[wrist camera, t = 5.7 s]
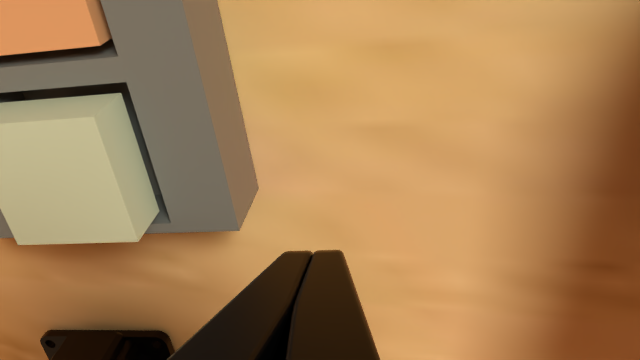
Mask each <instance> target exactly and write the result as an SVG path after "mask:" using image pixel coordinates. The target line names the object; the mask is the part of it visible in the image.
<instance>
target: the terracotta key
mask: <svg viewBox="0 0 640 360" xmlns="http://www.w3.org/2000/svg"><path fill="white" fill-rule="evenodd" d="M111 38H112V35H111V32H110V29H109V26H108V23H107V20H106V16H105V13H104V10H103V7H102V4H101V1H100V0H0V56H2V55H12V54H22V53H32V52H42V51H52V50H62V49H72V48H82V47H92V46H101V45H102V44H104V43H105V42H107V41H108V40H109V39H111Z"/></svg>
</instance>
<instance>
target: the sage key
mask: <svg viewBox="0 0 640 360" xmlns="http://www.w3.org/2000/svg"><path fill="white" fill-rule="evenodd" d="M0 209H1V211H2V213H3V215H4V217H5V219H6V221H7V223H8V226H9V228H10V230H11V232H12V234H13V236H14V238H15V240H16V242H17V244H18V245H42V244H78V243H114V242H139V240H140V239H141V237H142V236H143V234H144V233H145V231H146V230H147V228H148V227H149V226H150V224H151V223H152V221H153V220H154V218H155V217H156V215H157V214H158V212H159V208H158V205H157V202H156V199H155V196H154V193H153V189H152V186H151V183H150V180H149V177H148V174H147V171H146V168H145V165H144V162H143V159H142V156H141V153H140V149H139V146H138V143H137V140H136V137H135V134H134V131H133V128H132V125H131V122H130V119H129V116H128V113H127V109H126V106H125V103H124V100H123V97H122V94H121V93H113V94H101V95H89V96H77V97H64V98H52V99H40V100H28V101H16V102H3V103H0Z"/></svg>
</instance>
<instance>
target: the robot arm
mask: <svg viewBox="0 0 640 360" xmlns="http://www.w3.org/2000/svg"><path fill="white" fill-rule="evenodd" d="M40 342H41V345H42V347H43V349H44V351H45V353H46V354H47V356H48V358H49V360H380V358H379V355H378V352H377V349H376V346H375V343H374V340H373V337H372V335H371V332H370V329H369V326H368V323H367V320H366V317H365V314H364V312H363V309H362V306H361V303H360V300H359V297H358V294H357V291H356V288H355V286H354V283H353V280H352V277H351V274H350V271H349V268H348V265H347V263H346V260H345V257H344V254H343V252H342V251H340V250H319V251H316V252H314V254H313V253H312V252H311V251H287V252H285V253H283V254H282V255H281V256H280V257H278V258H277V259H276V260H275V261H274V262H273V263H272V264H271V265H270V266H269V267H268V268H266V269H265V270H264V271H263V272H262V273H261V274H260V275H259V276H258V277H257V278H256V279H254V280H253V281H252V282H251V283H250V284H249V285H248V286H247V287H246V288H245V289H243V290H242V291H241V292H240V293H239V294H238V295H237V296H236V297H235V298H234V299H233V300H231V301H230V302H229V303H228V304H227V305H226V306H225V307H224V308H223V309H222V310H221V311H219V312H218V313H217V314H216V315H215V316H214V317H213V318H212V319H211V320H210V321H209V322H207V323H206V324H205V325H204V326H203V327H202V328H201V329H200V330H199V331H198V332H197V333H195V334H194V335H193V336H192V337H191V338H190V339H189V340H188V341H187V342H186V343H185V344H183V345H182V346H181V347H180V348H179V349H178V350H177V351H176V352H175V351H174V348H173V345H172V343H171V340H170V338H169V336H168V335H167V334H166V333H164V332H162V331H135V330H49V331H47V332H45V334H44V335H43V336H42V338H41V340H40Z"/></svg>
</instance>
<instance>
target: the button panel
mask: <svg viewBox="0 0 640 360" xmlns="http://www.w3.org/2000/svg"><path fill="white" fill-rule="evenodd" d="M100 1H101V4H102V7H103V10H104V13H105V16H106V20H107V23H108V26H109V29H110V32H111V35H112V38H111V39H109V40H108V41H107V42H105V43H104V44H102V45H101V46H92V47H82V48H72V49H62V50H52V51H42V52H32V53H22V54H12V55H2V56H0V103H3V102H16V101H28V100H40V99H52V98H64V97H77V96H89V95H101V94H113V93H121V94H122V97H123V100H124V103H125V106H126V109H127V113H128V116H129V119H130V122H131V125H132V128H133V131H134V134H135V137H136V140H137V143H138V146H139V149H140V153H141V156H142V159H143V162H144V165H145V168H146V171H147V174H148V177H149V180H150V183H151V186H152V189H153V193H154V196H155V199H156V202H157V205H158V208H159V212H158V214H157V215H156V217H155V218H154V220H153V221H152V223H151V224H150V226H149V227H148V228H147V230H146V231H145V233H144V234H151V233H183V232H216V231H240V228H241V226H242V224H243V222H244V219H245V217H246V215H247V213H248V211H249V208H250V206H251V204H252V202H253V199H254V197H255V195H256V193H257V191H258V184H257V179H256V175H255V170H254V166H253V161H252V157H251V152H250V148H249V143H248V139H247V134H246V130H245V125H244V121H243V116H242V111H241V107H240V102H239V98H238V93H237V89H236V84H235V80H234V75H233V71H232V66H231V62H230V57H229V53H228V48H227V43H226V39H225V34H224V30H223V25H222V21H221V16H220V12H219V7H218V3H217V0H100ZM0 238H14V236H13V234H12V232H11V230H10V228H9V226H8V223H7V221H6V219H5V217H4V215H3V213H2V211H1V209H0Z"/></svg>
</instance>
